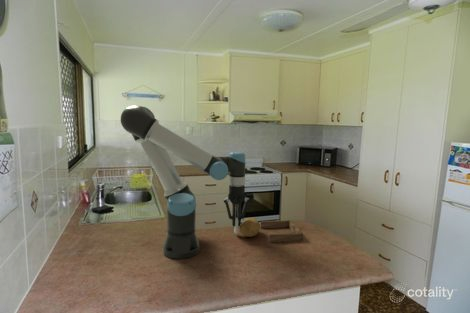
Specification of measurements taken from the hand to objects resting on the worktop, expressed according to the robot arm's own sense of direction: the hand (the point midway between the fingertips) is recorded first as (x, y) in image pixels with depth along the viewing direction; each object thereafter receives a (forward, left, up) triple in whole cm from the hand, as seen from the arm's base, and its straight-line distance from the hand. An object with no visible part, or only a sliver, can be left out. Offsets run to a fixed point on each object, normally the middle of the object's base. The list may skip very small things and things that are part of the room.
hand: (236, 232), depth 137 cm
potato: (0, -7, -2) cm, 7 cm away
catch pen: (0, -22, -2) cm, 22 cm away
